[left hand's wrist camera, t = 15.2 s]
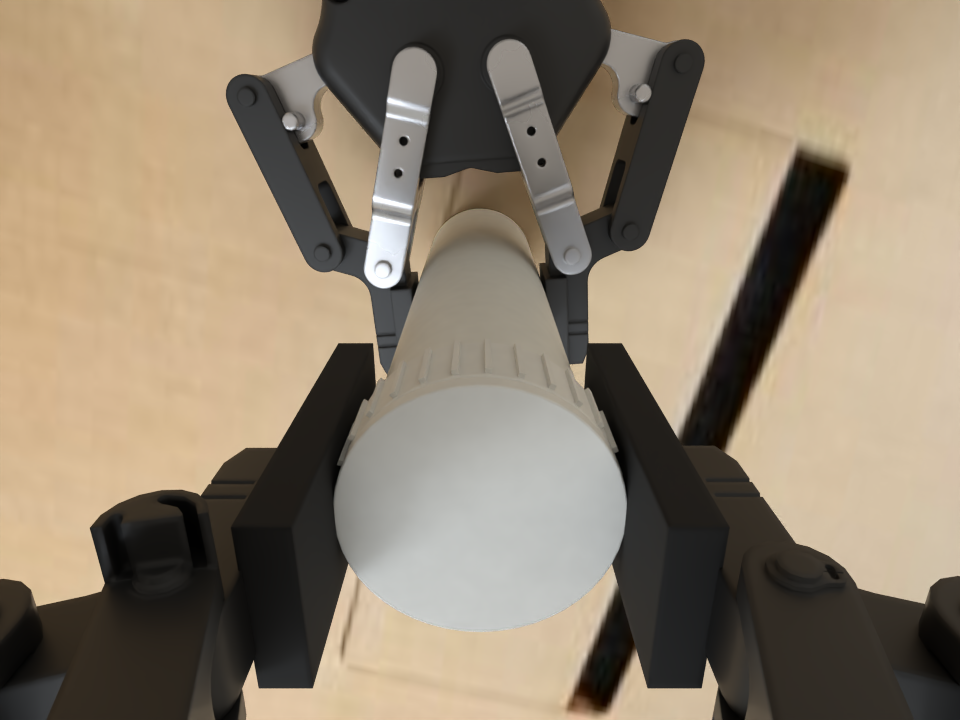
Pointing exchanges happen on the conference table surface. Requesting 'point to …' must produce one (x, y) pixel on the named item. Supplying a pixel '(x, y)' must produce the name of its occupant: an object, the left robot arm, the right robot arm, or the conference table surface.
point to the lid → (480, 489)
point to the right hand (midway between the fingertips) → (486, 375)
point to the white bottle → (480, 291)
